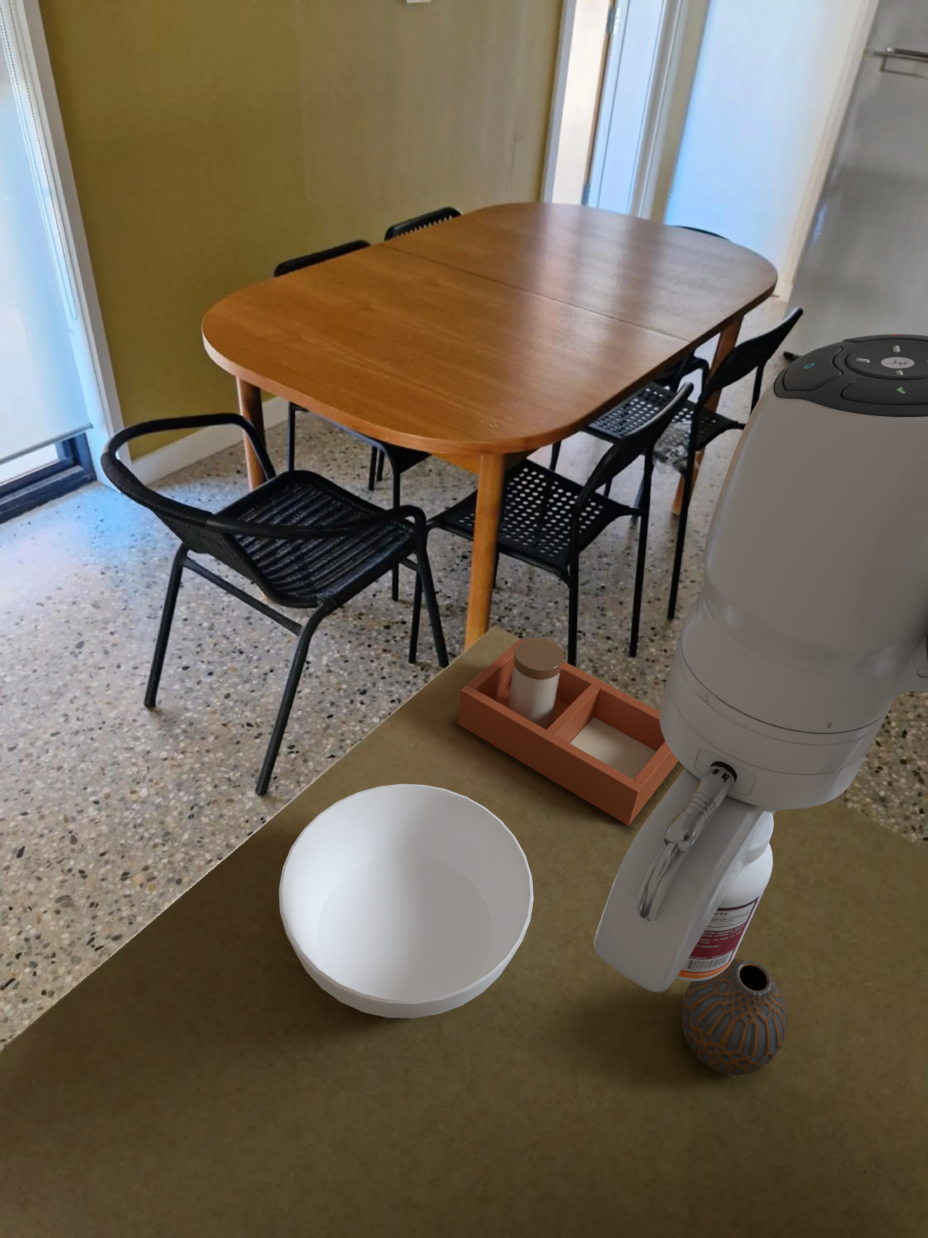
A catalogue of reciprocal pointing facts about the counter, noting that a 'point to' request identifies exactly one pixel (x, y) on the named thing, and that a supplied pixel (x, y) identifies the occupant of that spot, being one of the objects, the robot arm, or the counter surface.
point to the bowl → (405, 899)
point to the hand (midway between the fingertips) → (696, 890)
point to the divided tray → (575, 736)
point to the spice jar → (535, 679)
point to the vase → (735, 1018)
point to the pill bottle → (732, 913)
